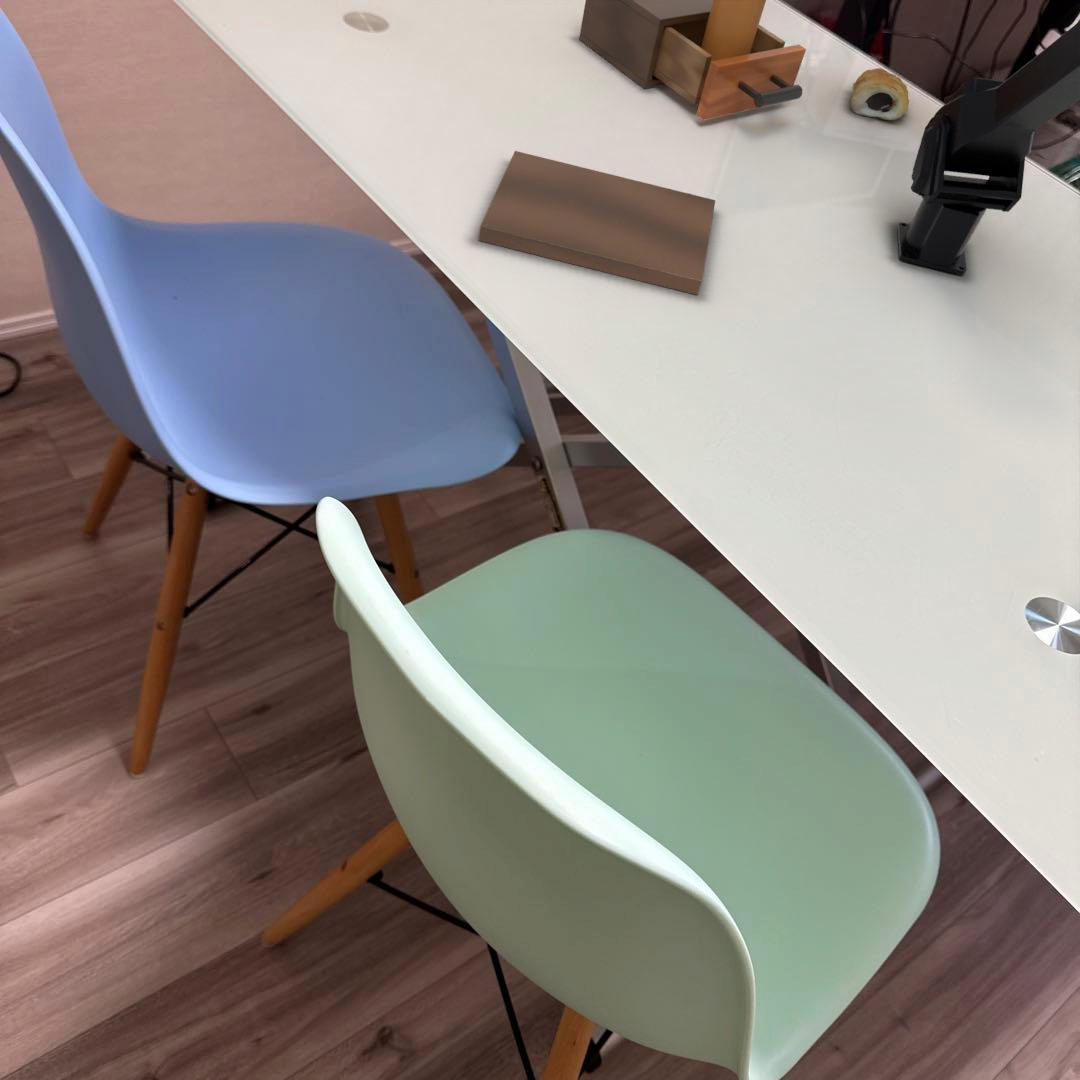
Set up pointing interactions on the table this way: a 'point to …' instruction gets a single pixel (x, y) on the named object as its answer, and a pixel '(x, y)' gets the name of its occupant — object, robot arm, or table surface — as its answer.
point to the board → (600, 222)
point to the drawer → (727, 71)
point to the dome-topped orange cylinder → (732, 28)
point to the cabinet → (635, 31)
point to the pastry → (879, 95)
